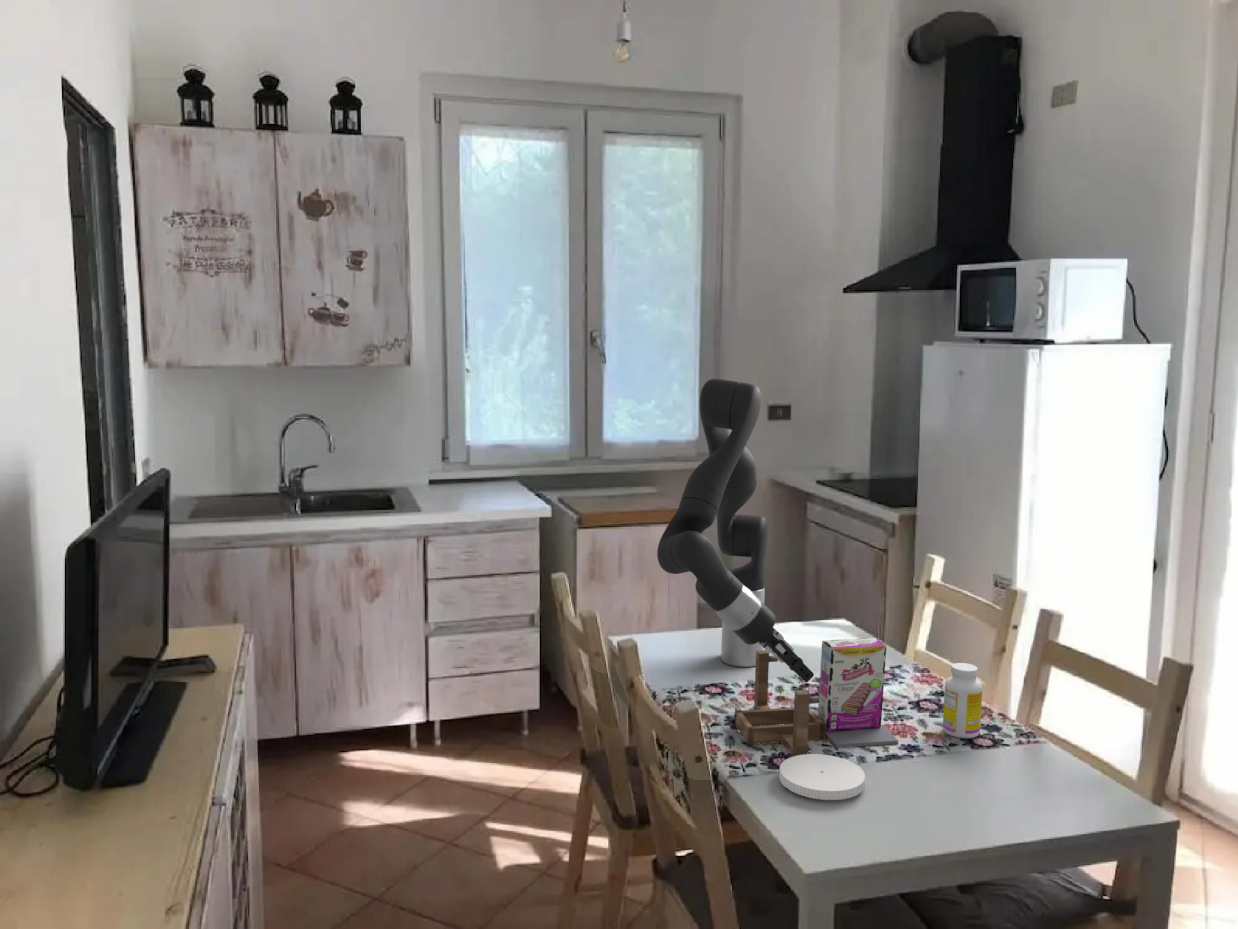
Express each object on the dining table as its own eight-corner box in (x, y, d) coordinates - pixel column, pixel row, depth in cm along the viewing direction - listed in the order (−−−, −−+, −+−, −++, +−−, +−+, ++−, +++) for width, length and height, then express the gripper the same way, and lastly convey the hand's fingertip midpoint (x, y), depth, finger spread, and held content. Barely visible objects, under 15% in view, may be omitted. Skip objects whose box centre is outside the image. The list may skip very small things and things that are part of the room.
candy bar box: (827, 733, 192) (831, 648, 190) (816, 723, 197) (820, 639, 195) (883, 729, 195) (887, 644, 192) (871, 718, 200) (875, 636, 197)
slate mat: (804, 714, 203) (804, 711, 203) (862, 710, 205) (862, 707, 205) (835, 747, 187) (836, 744, 187) (898, 743, 190) (898, 740, 189)
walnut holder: (723, 710, 204) (725, 652, 202) (794, 706, 207) (796, 648, 205) (761, 762, 181) (763, 696, 179) (840, 757, 183) (843, 692, 182)
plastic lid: (797, 761, 182) (798, 747, 182) (875, 780, 175) (876, 766, 175) (765, 791, 171) (766, 777, 170) (847, 814, 163) (848, 799, 163)
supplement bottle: (981, 729, 197) (985, 664, 195) (977, 742, 191) (982, 675, 189) (944, 723, 199) (948, 658, 197) (939, 735, 193) (943, 669, 192)
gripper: (771, 609, 182) (830, 669, 186) (746, 588, 196) (801, 644, 200) (741, 639, 182) (801, 699, 186) (718, 616, 196) (774, 672, 199)
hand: (801, 670), depth 193 cm, fingers open, 8 cm apart
